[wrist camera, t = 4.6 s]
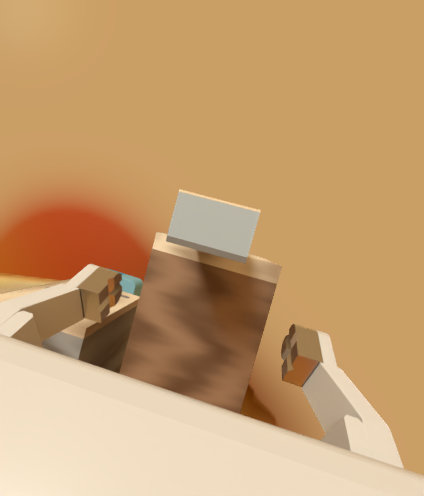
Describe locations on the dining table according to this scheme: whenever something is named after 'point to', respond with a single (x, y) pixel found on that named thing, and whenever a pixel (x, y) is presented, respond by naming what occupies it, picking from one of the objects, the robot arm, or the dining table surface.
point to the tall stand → (200, 323)
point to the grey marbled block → (92, 332)
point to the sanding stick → (213, 226)
